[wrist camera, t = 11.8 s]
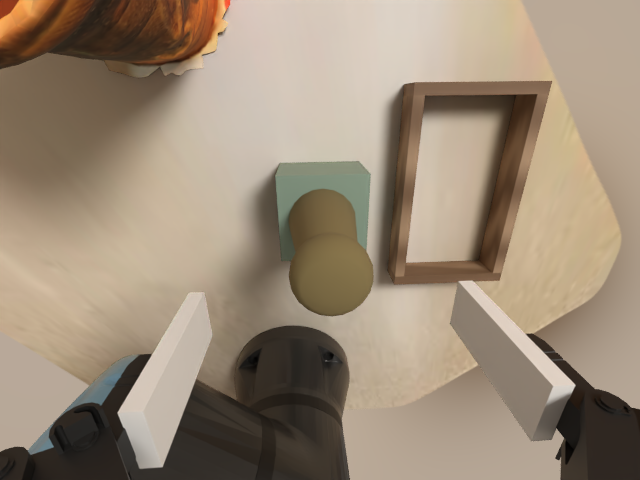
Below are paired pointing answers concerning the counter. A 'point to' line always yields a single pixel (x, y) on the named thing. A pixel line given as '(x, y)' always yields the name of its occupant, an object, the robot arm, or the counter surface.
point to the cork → (327, 254)
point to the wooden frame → (507, 186)
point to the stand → (321, 175)
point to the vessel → (113, 32)
